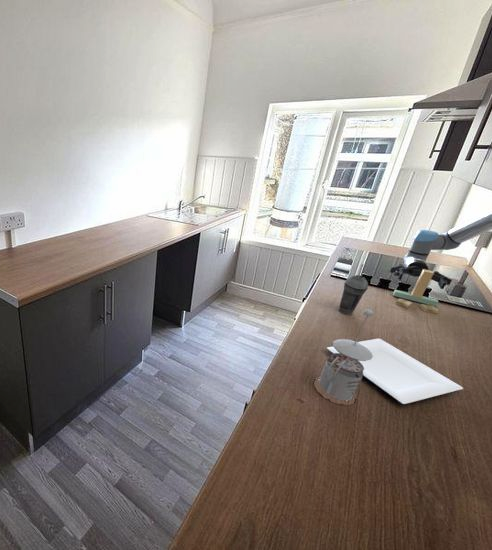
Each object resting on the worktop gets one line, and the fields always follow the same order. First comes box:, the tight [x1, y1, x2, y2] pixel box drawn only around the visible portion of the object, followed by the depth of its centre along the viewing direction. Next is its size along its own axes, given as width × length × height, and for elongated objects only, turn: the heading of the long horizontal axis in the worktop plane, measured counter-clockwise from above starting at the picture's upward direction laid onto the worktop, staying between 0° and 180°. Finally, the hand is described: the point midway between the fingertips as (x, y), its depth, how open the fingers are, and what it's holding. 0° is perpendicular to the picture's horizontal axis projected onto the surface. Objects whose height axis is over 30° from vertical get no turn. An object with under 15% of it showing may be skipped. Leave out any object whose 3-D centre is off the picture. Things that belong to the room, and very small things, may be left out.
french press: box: [318, 309, 375, 401], centre depth 73 cm, size 10×12×25 cm
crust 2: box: [419, 303, 439, 315], centre depth 120 cm, size 4×4×2 cm
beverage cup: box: [338, 263, 369, 316], centre depth 113 cm, size 7×7×20 cm
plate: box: [326, 338, 464, 405], centre depth 86 cm, size 22×22×2 cm
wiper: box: [392, 269, 440, 308], centre depth 125 cm, size 14×3×14 cm, turn 53°
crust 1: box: [395, 298, 413, 309], centre depth 124 cm, size 4×4×2 cm
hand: (421, 281), depth 126 cm, fingers open, 13 cm apart
